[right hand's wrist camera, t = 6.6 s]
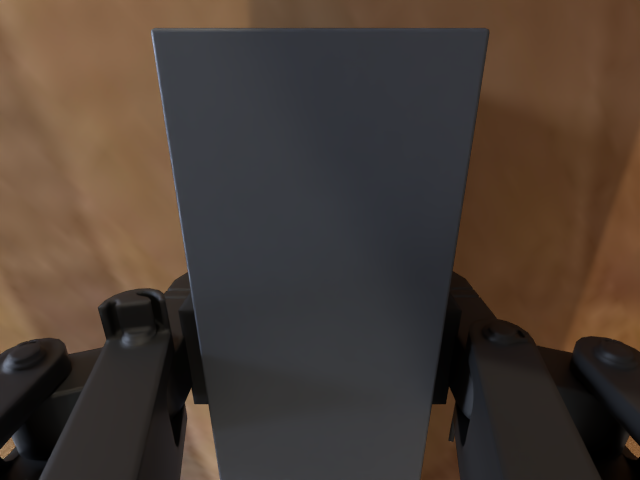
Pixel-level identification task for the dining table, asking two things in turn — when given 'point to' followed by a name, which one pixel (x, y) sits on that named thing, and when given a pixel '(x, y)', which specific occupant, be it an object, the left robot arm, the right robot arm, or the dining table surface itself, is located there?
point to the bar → (320, 234)
